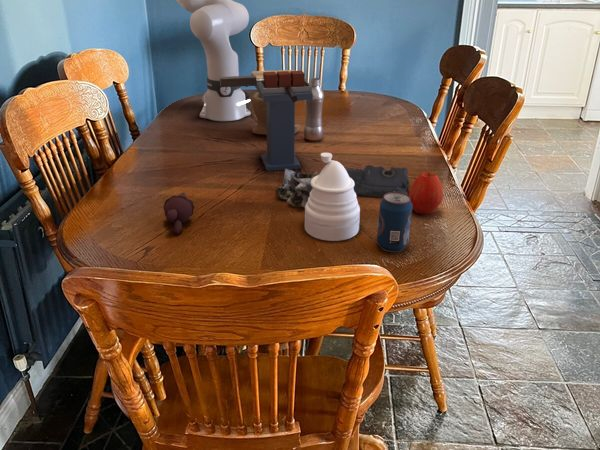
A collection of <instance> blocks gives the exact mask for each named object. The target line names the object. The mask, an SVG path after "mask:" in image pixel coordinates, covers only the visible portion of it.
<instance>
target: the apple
mask: <svg viewBox="0 0 600 450" xmlns="http://www.w3.org/2000/svg"><path fill="white" fill-rule="evenodd" d="M408 195H409V196H410V198H411V199H410V201H411V203H412V211H413V212H415V213H417V214H419V215H424V216H425V215H430V214H432V213H434V212H435V211H436V210H437V208H438V207H439V206H440V205H441V204H442V202H443V199H444V190H443V185H442V183H441V179H440V178H439V177H438V176H437V174H435V173H433V172H431V171H423V172H421V173H420V174H418V175H417V176H416V178H415V179H414V181H413V182H412V184H411V187H410V189H409V193H408Z"/></svg>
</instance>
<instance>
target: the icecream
mask: <svg viewBox="0 0 600 450" xmlns="http://www.w3.org/2000/svg"><path fill="white" fill-rule="evenodd" d="M162 208H163V212H164V217H165V218H166V221H167V222H169V223H172V224H173V232H174V234H175V235H179V234H180V233H181V232H182V230H183V224H185V223H187V221H188V220H189V219H190V218H191V217H192V216H193V215H194V210H195V205H194V201H193V200H192V199H189V198H188V197H187V195H186V193H185V192H181V193H180V194H178V195H172V196H171V197H169V198H167V199H166V200H165V201H164V204H163V207H162Z"/></svg>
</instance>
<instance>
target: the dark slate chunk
mask: <svg viewBox="0 0 600 450" xmlns="http://www.w3.org/2000/svg"><path fill="white" fill-rule="evenodd" d="M345 170H346V171H347V173H348V175H349V177H350V178H352V180H353V181H354V183H355V185H354V188H353V189H354V192H355V193H356V196H357V197H358V196H359V197H370V198H383V196H384V194H386V193H389V192H401V193H405V194H407V195H409V193H408V191H407V189H408V186H409V184H410V180H409V177H408V172H409V171H408V168H406V167H394V166H391V167H390V170H386V169H385V167H383V166H374V165H370V164H368V165H366V166H365V167H364V168H345Z"/></svg>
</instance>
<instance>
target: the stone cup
mask: <svg viewBox="0 0 600 450" xmlns="http://www.w3.org/2000/svg"><path fill="white" fill-rule="evenodd" d="M251 106H252V109H253V113H254V115H255V117H256V119H257V124H256V125H255V126H253V128H252V133H253V134H255V135H262V136H267V121H266V102H264V101H263V100H262V98H261V96H260V94H259V93H258V91H257V92H254V93H253V94H252V96H251ZM300 127H301V126H300V124H297V123H295V134H297V132H299V130H300Z"/></svg>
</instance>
